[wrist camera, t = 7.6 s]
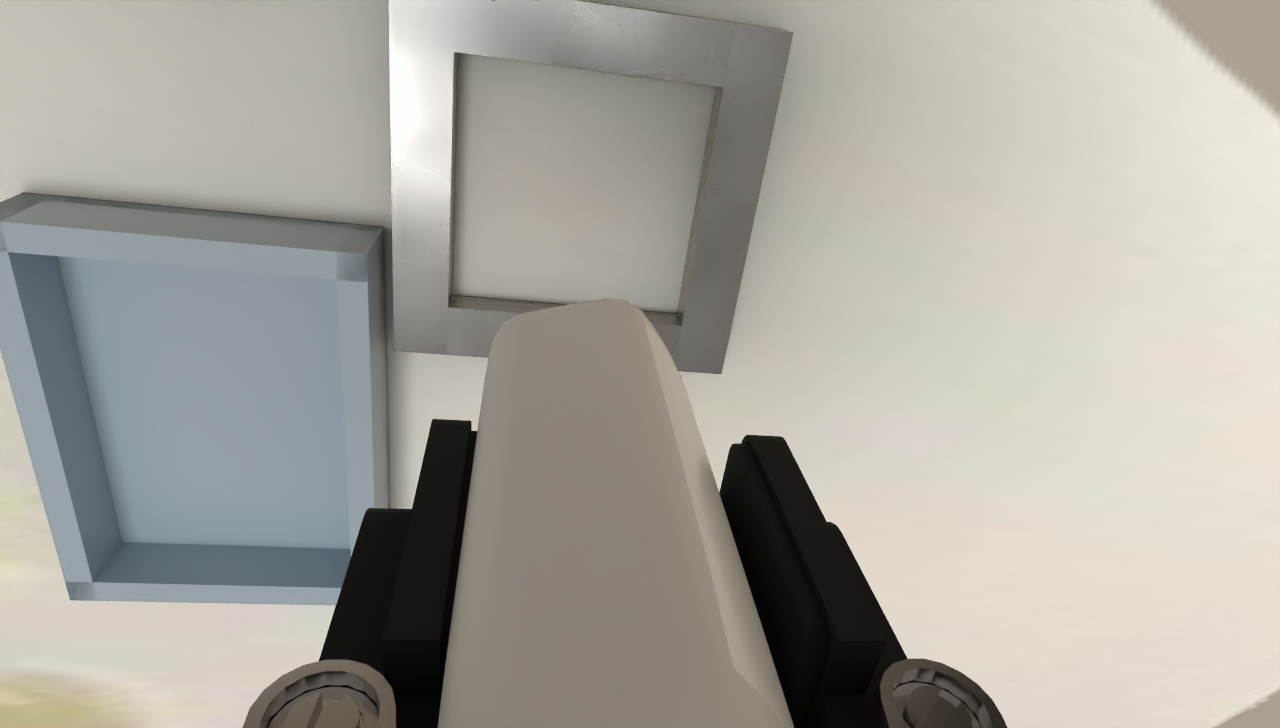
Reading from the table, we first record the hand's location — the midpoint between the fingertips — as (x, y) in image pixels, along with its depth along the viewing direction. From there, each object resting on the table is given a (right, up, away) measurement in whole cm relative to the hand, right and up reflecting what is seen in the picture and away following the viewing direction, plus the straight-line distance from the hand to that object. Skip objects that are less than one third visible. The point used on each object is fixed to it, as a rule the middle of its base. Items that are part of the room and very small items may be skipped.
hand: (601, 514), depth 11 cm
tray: (-16, +1, +19) cm, 25 cm away
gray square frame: (-2, +9, +17) cm, 19 cm away
